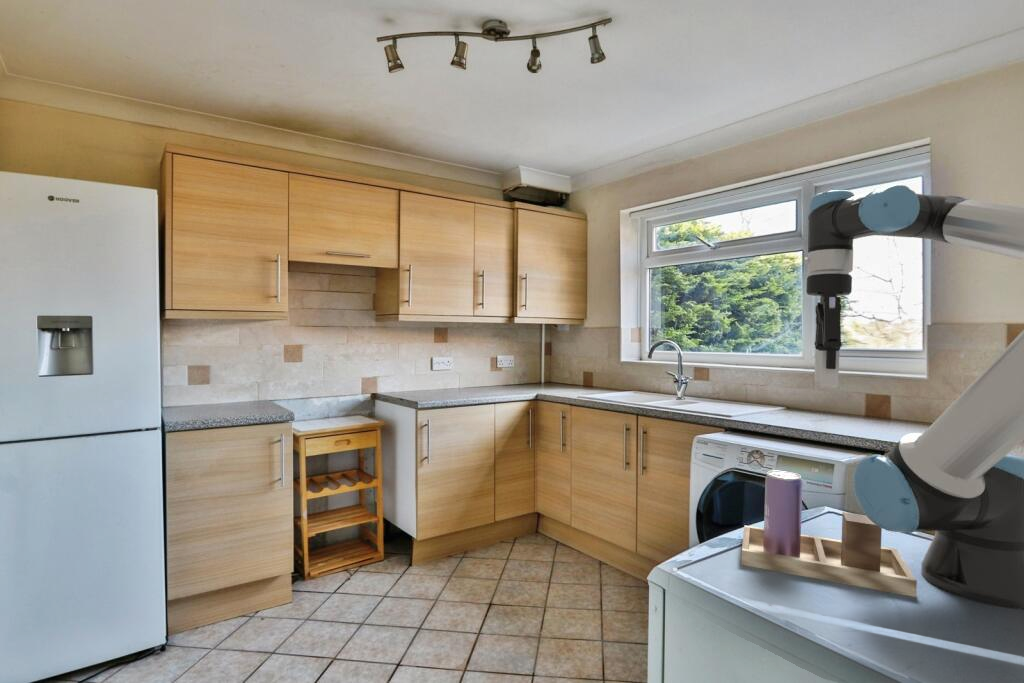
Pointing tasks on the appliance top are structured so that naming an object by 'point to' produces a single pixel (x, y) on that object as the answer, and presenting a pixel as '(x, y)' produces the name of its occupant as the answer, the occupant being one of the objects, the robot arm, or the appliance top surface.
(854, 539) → the walnut block
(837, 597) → the appliance top surface
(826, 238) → the robot arm
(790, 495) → the beverage can
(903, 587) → the rack
